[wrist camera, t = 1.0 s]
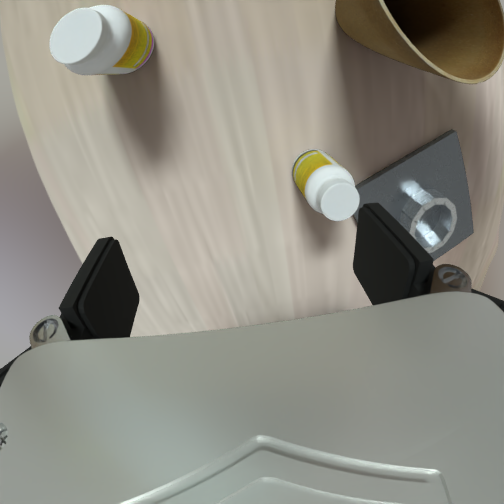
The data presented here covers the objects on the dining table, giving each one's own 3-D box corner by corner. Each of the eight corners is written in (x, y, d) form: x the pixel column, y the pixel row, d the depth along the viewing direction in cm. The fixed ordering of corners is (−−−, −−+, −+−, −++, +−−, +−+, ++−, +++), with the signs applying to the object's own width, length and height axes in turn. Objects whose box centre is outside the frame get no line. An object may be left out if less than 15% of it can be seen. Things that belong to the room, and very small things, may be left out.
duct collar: (451, 129, 32) (469, 136, 28) (470, 229, 42) (483, 241, 38) (342, 193, 36) (354, 206, 33) (384, 286, 46) (393, 302, 43)
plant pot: (389, 94, 29) (481, 120, 16) (283, 31, 25) (333, -4, 12) (429, 13, 22) (519, 9, 9) (333, -52, 18) (398, -105, 4)
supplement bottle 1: (151, 14, 22) (112, -18, 11) (159, 64, 26) (121, 57, 15) (96, 32, 22) (36, 19, 11) (104, 81, 26) (45, 89, 15)
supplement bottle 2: (285, 184, 35) (305, 221, 27) (298, 143, 32) (325, 167, 24) (324, 194, 36) (353, 232, 28) (339, 155, 33) (375, 183, 25)
